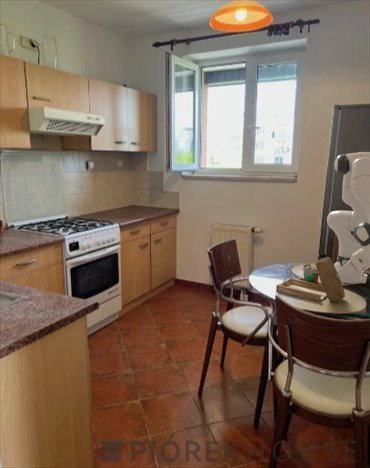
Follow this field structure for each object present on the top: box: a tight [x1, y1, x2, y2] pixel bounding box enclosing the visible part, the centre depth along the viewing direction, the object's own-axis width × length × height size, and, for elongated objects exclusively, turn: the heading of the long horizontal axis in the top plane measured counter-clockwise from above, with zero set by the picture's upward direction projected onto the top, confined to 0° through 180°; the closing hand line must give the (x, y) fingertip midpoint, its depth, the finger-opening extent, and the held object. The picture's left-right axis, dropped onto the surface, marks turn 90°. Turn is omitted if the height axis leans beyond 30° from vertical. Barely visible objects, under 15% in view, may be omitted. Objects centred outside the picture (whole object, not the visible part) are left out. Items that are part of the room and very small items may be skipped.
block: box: [315, 256, 346, 302], centre depth 169 cm, size 11×8×20 cm
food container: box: [301, 263, 319, 284], centre depth 192 cm, size 12×6×10 cm, turn 4°
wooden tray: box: [275, 277, 327, 303], centre depth 180 cm, size 15×22×4 cm
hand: (337, 276), depth 167 cm, fingers closed, pressing on block
